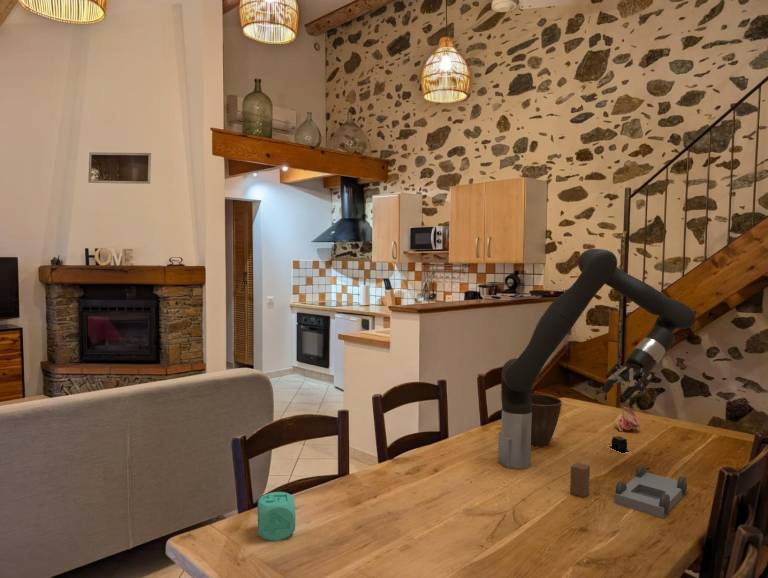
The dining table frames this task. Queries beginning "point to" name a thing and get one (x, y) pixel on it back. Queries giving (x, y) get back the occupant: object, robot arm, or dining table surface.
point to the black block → (619, 444)
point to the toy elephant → (626, 420)
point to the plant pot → (544, 418)
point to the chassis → (650, 492)
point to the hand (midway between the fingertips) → (613, 394)
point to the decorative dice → (276, 516)
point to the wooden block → (579, 479)
